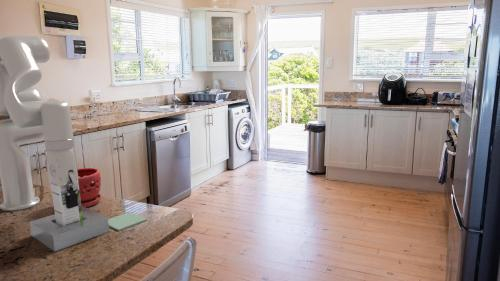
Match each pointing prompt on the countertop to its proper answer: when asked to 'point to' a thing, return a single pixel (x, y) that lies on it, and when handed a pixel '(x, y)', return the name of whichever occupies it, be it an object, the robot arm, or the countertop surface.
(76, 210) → the syrup box
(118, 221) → the rubber mat
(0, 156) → the robot arm
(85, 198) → the plant pot
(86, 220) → the socket block
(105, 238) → the countertop surface
